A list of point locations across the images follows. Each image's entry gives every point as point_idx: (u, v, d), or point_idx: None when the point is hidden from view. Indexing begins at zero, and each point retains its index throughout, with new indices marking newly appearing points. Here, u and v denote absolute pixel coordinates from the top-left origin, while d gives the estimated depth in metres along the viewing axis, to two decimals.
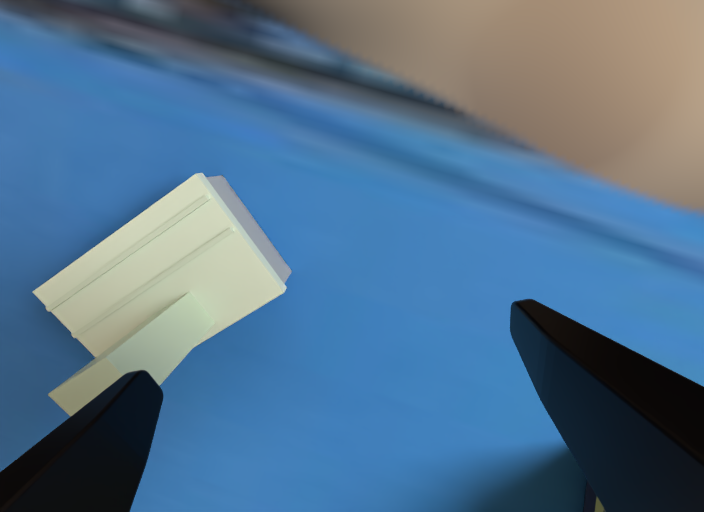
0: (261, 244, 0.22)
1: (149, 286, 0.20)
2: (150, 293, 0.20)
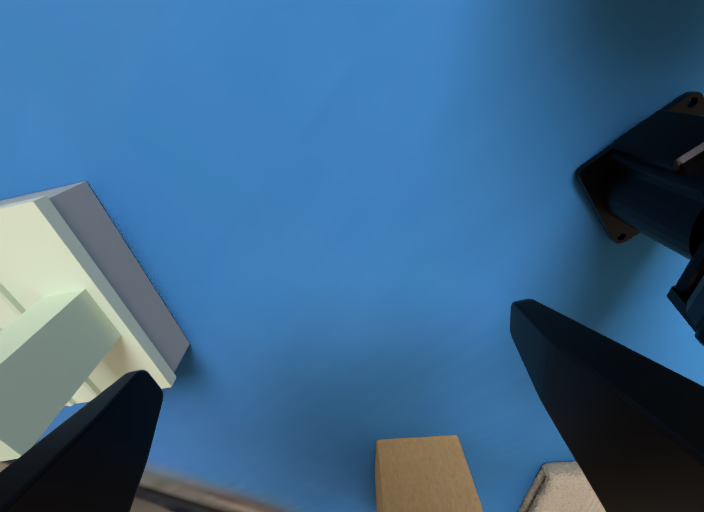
0: None
1: None
2: None
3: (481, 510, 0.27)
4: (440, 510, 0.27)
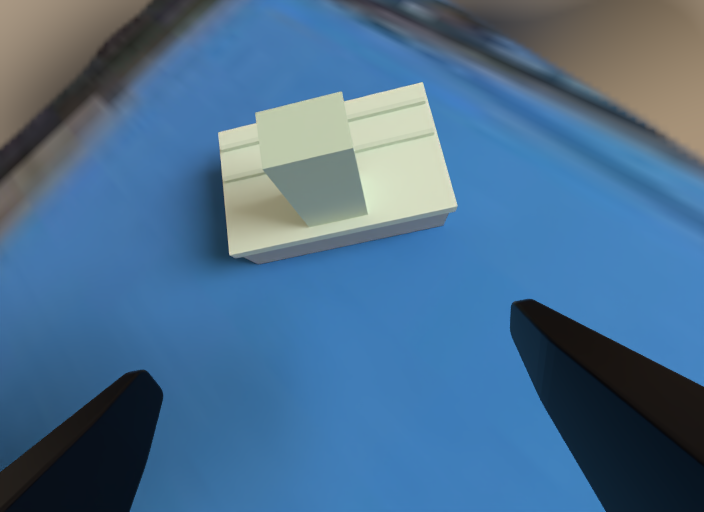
0: None
1: None
2: None
3: None
4: None
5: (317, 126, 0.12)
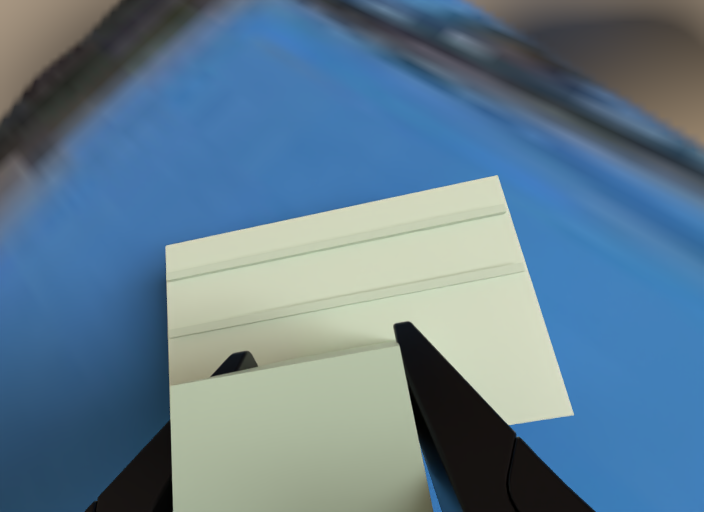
0: None
1: (341, 303, 0.12)
2: (330, 317, 0.12)
3: None
4: None
5: (334, 454, 0.04)
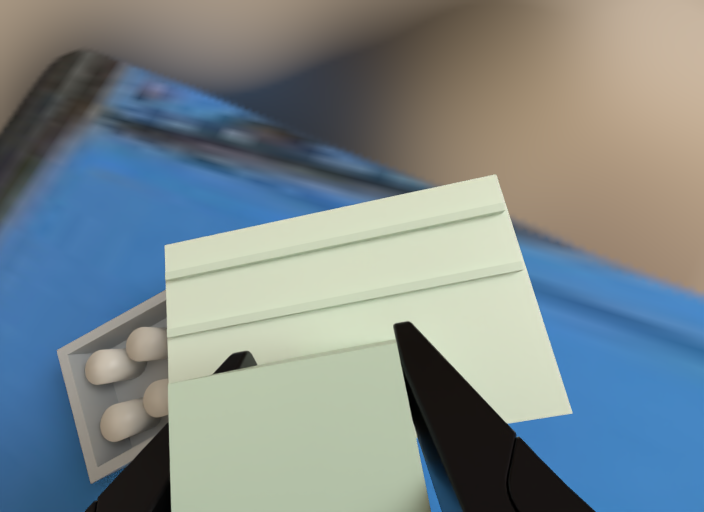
0: None
1: (340, 302, 0.12)
2: (329, 316, 0.12)
3: None
4: None
5: (331, 451, 0.04)
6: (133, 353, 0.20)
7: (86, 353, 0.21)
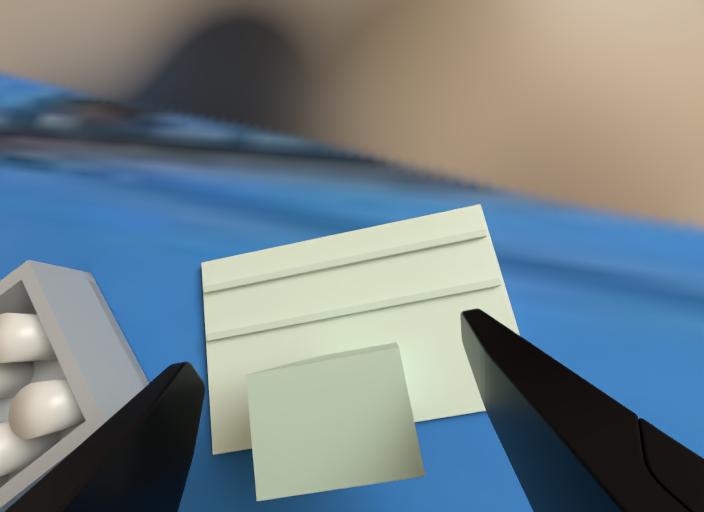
0: (104, 357, 0.14)
1: (351, 311, 0.14)
2: (342, 323, 0.14)
3: None
4: None
5: (357, 417, 0.07)
6: None
7: None
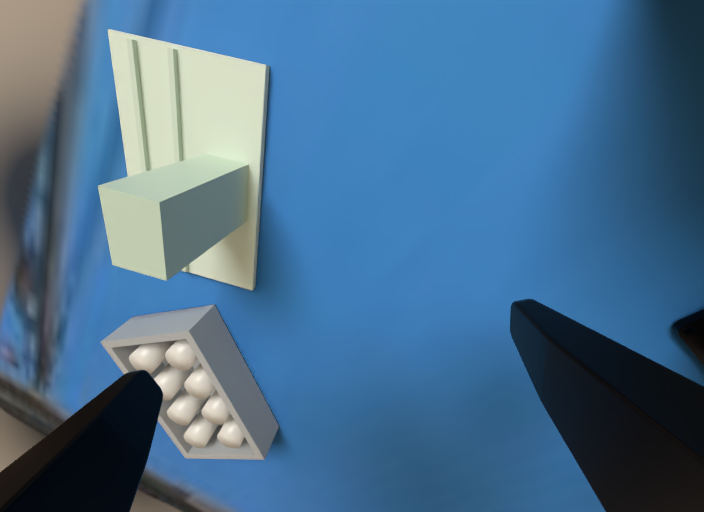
0: (168, 322, 0.23)
1: None
2: None
3: None
4: None
5: (132, 222, 0.13)
6: (184, 422, 0.26)
7: None
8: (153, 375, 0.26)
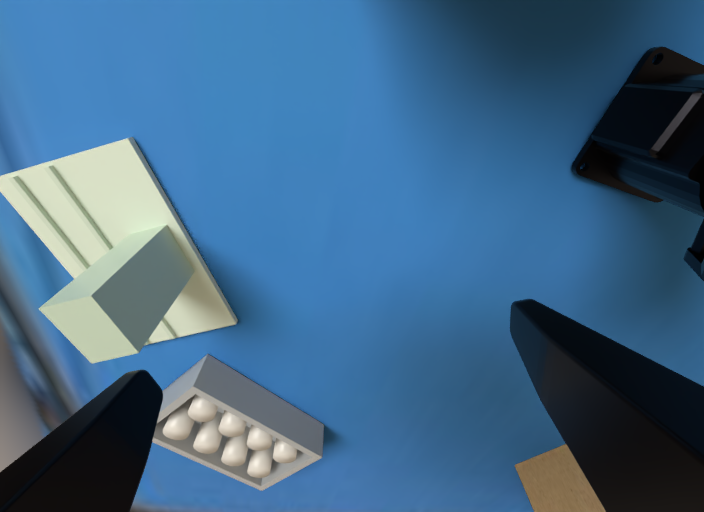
0: (177, 388, 0.25)
1: None
2: None
3: None
4: None
5: (82, 322, 0.14)
6: (241, 461, 0.28)
7: None
8: (195, 437, 0.29)
